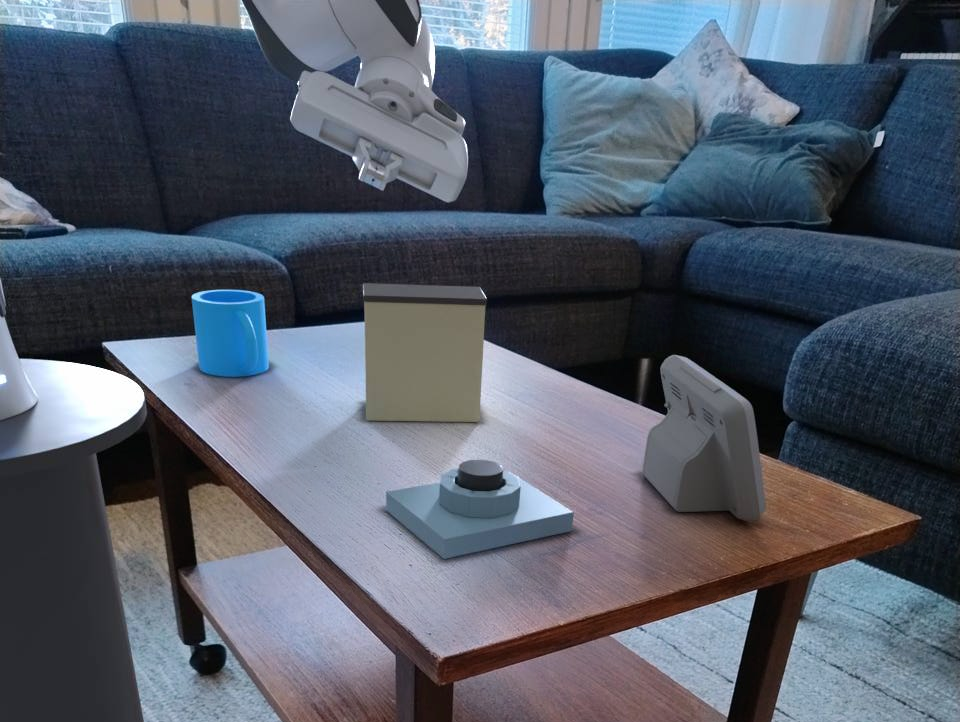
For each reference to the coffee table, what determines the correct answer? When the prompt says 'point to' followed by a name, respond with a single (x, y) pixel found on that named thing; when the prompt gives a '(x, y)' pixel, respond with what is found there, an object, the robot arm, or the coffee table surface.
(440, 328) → the box
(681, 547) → the coffee table surface
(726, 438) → the digital clock
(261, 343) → the mug
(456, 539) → the box
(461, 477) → the timer button
